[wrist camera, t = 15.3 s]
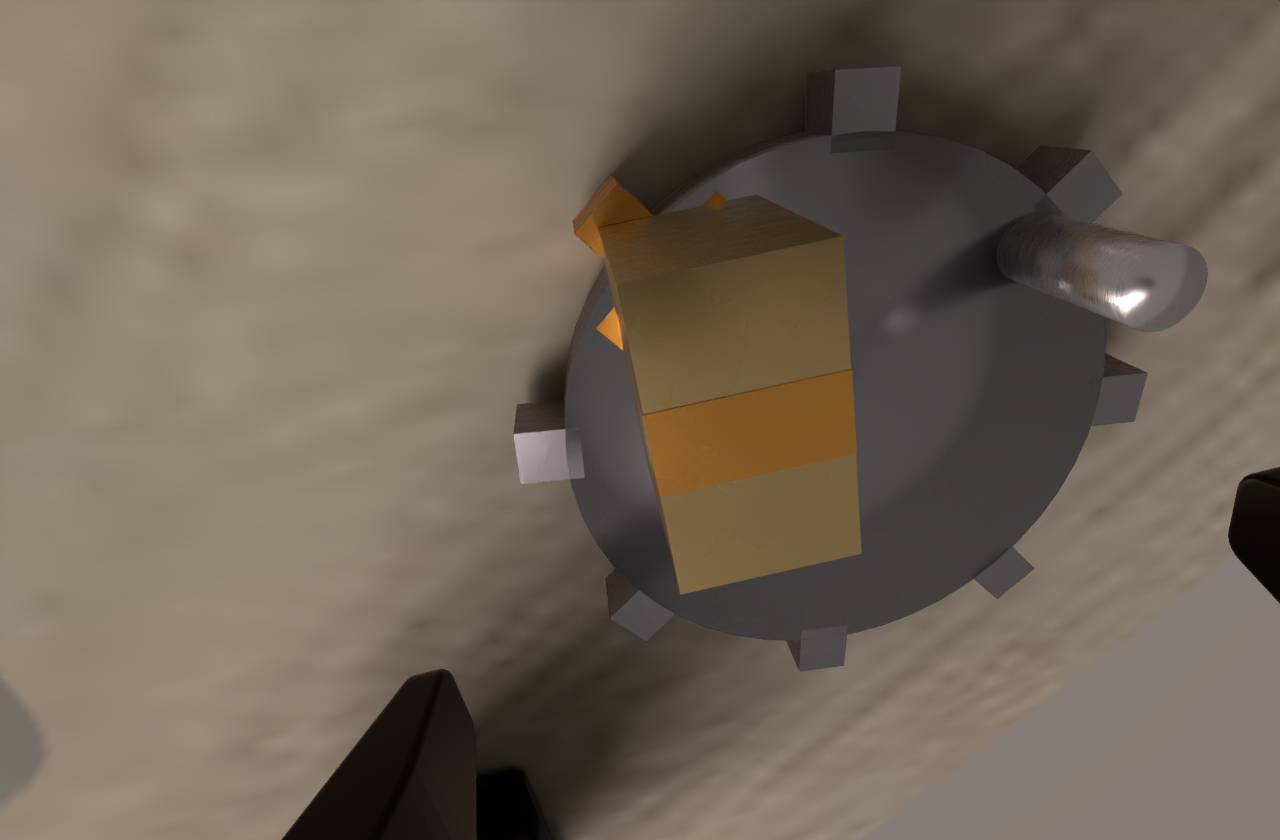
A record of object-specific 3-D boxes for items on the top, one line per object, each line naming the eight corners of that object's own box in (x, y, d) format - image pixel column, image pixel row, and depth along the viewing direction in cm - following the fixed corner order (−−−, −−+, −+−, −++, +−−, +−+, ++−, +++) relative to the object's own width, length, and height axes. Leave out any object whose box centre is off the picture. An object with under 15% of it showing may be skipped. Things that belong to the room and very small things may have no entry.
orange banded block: (783, 436, 18) (862, 553, 13) (647, 466, 17) (680, 595, 13) (756, 194, 15) (844, 236, 10) (597, 228, 15) (615, 285, 10)
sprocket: (1202, 362, 20) (1428, 455, 15) (797, 703, 24) (865, 869, 19) (847, -113, 14) (1015, -233, 9) (391, 440, 18) (327, 576, 13)
